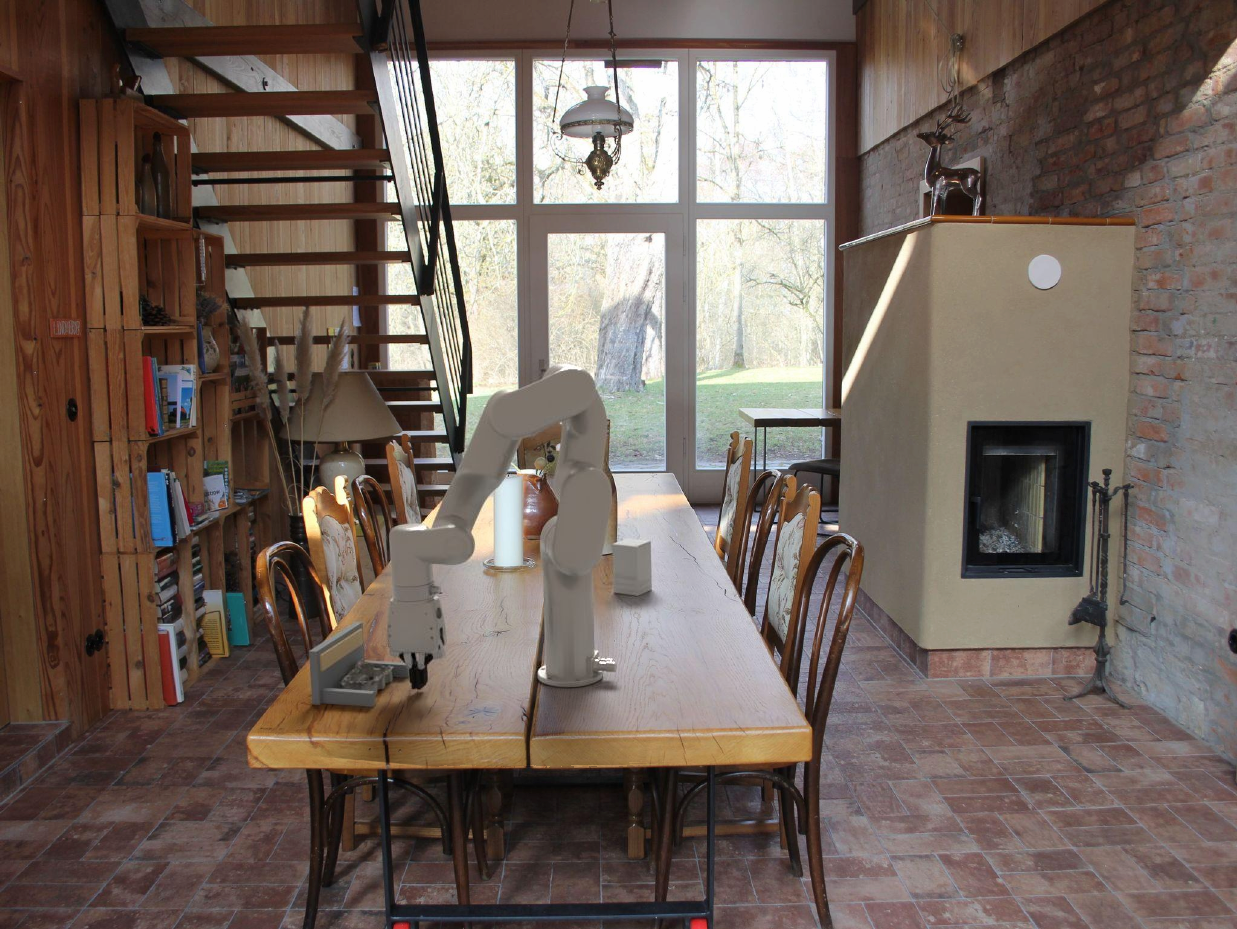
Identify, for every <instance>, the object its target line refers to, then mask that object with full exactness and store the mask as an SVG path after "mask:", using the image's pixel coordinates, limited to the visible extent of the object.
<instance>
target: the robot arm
mask: <svg viewBox="0 0 1237 929" xmlns="http://www.w3.org/2000/svg"><path fill="white" fill-rule="evenodd" d="M596 387H597V386H596V383H595V379H594V378H593V376H592V375H591V373H589V372H588V371H587V370H586V369H584V368H582V367H580V366H577V365H573V364H571V363H557V364H554V365H552V366H550V367H549V368H548V369H547V370H546V371H545V372H544V374H543V375H542V379H539V380H537V381H535V382H532V383H530V384H528V385H525V386H523V387H520V388H518V389H515V390H514V389H509V388H507V389H500V390H498V391H496V392H494V393H493V394H492V395H491V396H490V397H489V399H488V400H487V402H486V404H485V407H484V409H483V411H482V413H481V416H480V417H479V420H478V422H477V425H476V428H475V429H474V431H473V435H472V436H471V439H470V442H469V443H468V446H467V448H466V451H465V453H464V455H463V457H462V459H461V461H460V464H459V465H458V468H457V470H456V471H455V474H454V477H453V478H452V480H451V482H450V484H449V486H448V488H447V489H446V490H447V491H446V493H445V494H444V497H443V498H442V502H441V504H440V505H439V508H438V510H437V512H436V515H435V517H434V520H433V522H432V525H431V528H430V527H429V526H427V525H425V524H424V523H423V524H422V523H404V524H399V525H396V526H394V527H392V528H391V530H389V534H388V539H389V540H388V541H389V556H390V557H389V558H390V573H391V586H392V598H390V600H389V605H388V612H387V628H386V629H387V630H386V631H387V634H386V635H387V645H388V648H389V655H390V656H392V657H395V658H398V659H400V660H401V661H402V663H405V664H406V667H407V668H408V669H409V677H408V678H409V683H410V684H411V690H417V691H422V689H423V688H424V687H425V686H427V684H428V682H429V675H428V666H429V664H430V663H431V662H432V661H435V660H440V659H443V658H444V657H445V656H446V651H445V648H444V647H445V646H446V645H447V641H448V640H447V630H446V621H445V616H444V611H443V607H442V604H441V603H442V602H441V600H440V597H439V596H438V595H439V594H441V592H442V587H441V586H440V585H439V586H438V585H436V582H435V580H434V566H433V565H440V566H441V565H443V566H458V565H461V564H464V563H466V562H468V561H469V560H470V559H471V557H472V556H473V554H474V553H475V549H476V543H475V542H476V541H475V538H474V536H473V535H474V534H473V533H472V531H473V529H474V526H475V525H476V522H477V519H478V517H479V515H480V513H481V511H482V509H483V507H484V504H485V503H486V502H487V499H488V498H489V497H490V496H491V494H492V493H493V492H494V491H495V490H496V489H498V488H499V487H500V486H501V485H502V483H503V482H504V480H505V479H506V477H507V474H508V472H509V470H510V468H511V465H512V462H513V459H514V457H515V455H516V453H517V450H518V449H519V447H520V444H521V442H522V440H523V439H525V438H527V437H528V438H529V437H531V436H533V435H536V434H538V433H540V432H543V431H544V430H547V429H549V428H551V427H553V426H555V425H558V424H560V423H561V436H560V445H559V449H558V456H557V462H556V466H555V467H556V468H555V471H554V474H553V481H552V491H553V494H554V496H555V499H556V500H557V501H558V502H559V503H558V508H557V514H556V515H555V516H553V517H551V518H550V519H549V520H547V522H546V523H545V525H544V526H543V528H542V530H541V533H540V537H539V552H540V560H541V570H542V572H541V573H542V583H543V584H542V588H543V590H542V591H543V623H544V624H543V626H544V655H545V658H544V659H545V662H544V663H545V665H543V666H541V667H540V668H539V669H538V670H537V679H538V680H539V681H540V682H541V683H543V684H545V685H548V686H551V687H556V688H579V687H584V686H588V685H592V684H595V683H597V682H599V681H600V680H601V679H602V678H603V676H604V672H606V673H616V672H617V667H618V666H617V662H615V661H614V659H613V658H602V657H601V656H600V652H599V650H596V649H595V615H594V614H595V610H594V609H595V608H594V605H595V604H594V577H593V570H594V569H596V567H597V566H598V565H599V563H600V560H601V559H602V556H603V552H604V548H605V544H606V538H607V531H608V528H609V527H608V526H609V521H610V516H611V510H612V502H613V488H612V483H611V481H610V479H609V477H608V476H607V474H606V473H605V472H604V471H603V469H604V468H603V467H604V459H605V454H606V453H605V452H606V446H607V444H606V443H607V437H608V418H607V411H606V408H605V405H604V403H603V400H602V397H601V395H600V393H599V392H598V390H597V388H596ZM437 594H438V595H437Z"/></svg>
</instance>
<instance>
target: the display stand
mask: <svg viewBox="0 0 1237 929" xmlns="http://www.w3.org/2000/svg"><path fill="white" fill-rule="evenodd" d="M364 640H365V639H364V624H363V621H354V622H353V623H352V624H350V625H348V626H347V627H345V628H344V629H342V630H340V631H339V632H337V633H336V634H334V635H332V636H331V637H329V638H328V639H326V640H324V641H323V642H321V643H320V644H317V646H315V647H313V648H312V649H310V650H309V651H308V657H309V658H308V659H309V672H310V688H311V690H310V691H311V704H312V705H315V706H319V705H322V704H326V705H327V704H328V705H343V706H355V707H357V706H358V707H367V708H368V707H369V708H370V707H371V708H373V707H374V706H376V704H377V702H376V695H375V691H365V690H350V689H343V688H342V684H340V682H341V681H342V680H343V678H344V677H345V676H347V675H348V674H349V673H350V671H351V670H353V669H354V668H355V665H356V664H357V663H358V662H359V661H360V660H362V659H364V661H366V662H372V663H373V664H374V666H375V668H381V665H383V666H384V667H388V665H389V666H391V667H394V668H392V670H391V671H392V678H394V677H395V678H406V679H407V678H409V669H408V668H407V667H406V664H405V663H404V662H400V661H398V662H397V661H383V660H382V661H381V660H380V661H379V660H377V661H376V660H366V659H365V645H364V644H365V643H364Z"/></svg>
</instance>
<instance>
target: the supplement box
mask: <svg viewBox="0 0 1237 929" xmlns="http://www.w3.org/2000/svg"><path fill="white" fill-rule="evenodd" d="M611 548H612V549H611V551H612V579H613V581H612V584H613V593H616V594H622V595H628V596H637V597H639V596H641V595H643V594H645V593H647V592H649V591H652V590H653V583H652V582H653V580H652V577H653V576H652V541H651V540H643V539H635V538H627V537H626V538H624V539H622V540H619V541H616V542H614V543H612V544H611Z"/></svg>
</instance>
